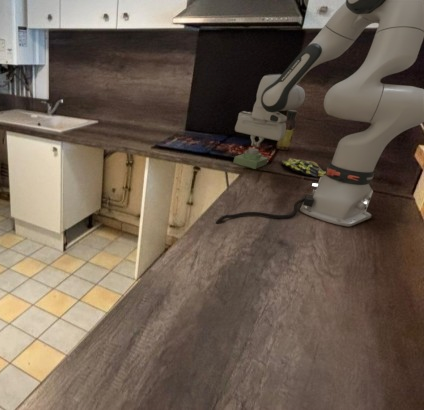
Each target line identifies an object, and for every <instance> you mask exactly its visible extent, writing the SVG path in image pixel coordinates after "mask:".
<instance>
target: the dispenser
mask: <svg viewBox="0 0 424 410" xmlns="http://www.w3.org/2000/svg"><path fill="white" fill-rule="evenodd" d="M233 158H234V159H233V161H232V162H233V164H236V165H238V166H239V165H240V166H243V167H247V168H250V169H254V170H257V169H259V168H261V167H263V166H267V165H268V162H269V157H267V156H262V153H261V152H259V151H258V154H250V153H248V150H244V151H243V153H241V154H238V155H235V156H234V157H233Z"/></svg>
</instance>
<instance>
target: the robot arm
mask: <svg viewBox="0 0 424 410" xmlns="http://www.w3.org/2000/svg"><path fill="white" fill-rule="evenodd" d="M372 24H378V25H377V28H376V31H375V34H374V37H373V40H372V43H371V45H370V48H369V50H368V53H367V55H366V57H365V60H364V61H363V63H362V64H361V65H360V67H359V68H358V69H357V70H356V71H355V72H354V73H353V74H351V75H350V76H348V77H347V78H345V79H344V80H341V81H339V82H337V83H335V84H334V85H332V86H331V87H330V88H329V89H328V91H327V92H326V93H325V95H324V99H323V110H324V111H325V113H326V114H327V115H328V116H331V117H334V118H338V119H341V120H347V121H352V122H353V121H355V122H361V123H362V122H363V123H368V124H370V126H369V127H368V128H367V129H364V130H363V131H360V132H359V131H358V132H354V133H351V134H348V135H345V136H344V137H342V138H340V139H339V141H338V143H337V146H336V148H335V151H334V154H333V157H332V160H331V162H329V164H328V166H327V167H326V170H325V171H326V173H325V174H326V175H325V176H322V177H319V180H318V183H312V185H311V186H312V187H316V188H315V189H313V190H312V191H311V194H307V193H306V194H305V195H304V197H303V198H301V199H299V200H297V201H296V202H295V203H294V205H293V211H292V212H291V213H290V214H272V213H267V212H261V211H244V212H239V213H238V212H237V213H234V214H223V215H222V216H220V217H219V218H218V219H217V221H216V222H215V224H216V225H220V224H221V222H223V220H225V219H232V218H237V217H244V216H261V217H268V218H273V219H288V218H292V217H294V216H295V215H296V214H297V212H298V207H299V205H300V204H301V203H302V204H301V206H300V208H299V211H300V212H301V213H303V214H305V215H307V216H310V217H312V218H314V219H317V220H320V221H324V222H327V223H330V224H334V225H338V226H343V227H349V228H350V227H352V226H355V225H357V224H360V223H362V222H365V221H367V220H369V219H371V218H372V214H371V212H368V210H367V209H368V207H369V204H370V202H371V198H372V196H373V194H374V190H373V188H372V187H371V185H370V184H371V183H372V180H373V178H374V176H375V168H376V166H377V164H378V162H379V160H380V157H381V156H382V154H383V151H384V150H385V148H386V147H387V145H388V144H390V143H391V141H392V140H394V139H395V138H396V137H397V136H398V135H400V134H401V133H403V132H405V131H407V130H409V129H412V128H414V127H417V126H420V125H421V124H423V123H424V88H422V87H421V88H420V87H418V86H412V85H401V84H392V83H391V84H389V83H383V82H381V80H382V79H383V78H386V77H387V76H391V75H394V74H398V73H401V72H403V71H405V70H408V69H409V68H410V67H411V66H413V65H414V63H416V60H417V59H418V55H419V52H420V49H421V47H422V44H423V42H424V0H345V2H344V3H342V5H341V6H340V7H339V8H338V9H337V10H336V11H335V12H334V13H333V14H332V15H331V17H330V18H329V19H328V21H327V22H326V23H325V25H324V26H323V27H322V28H321V30H319V32H318V34H316V36H315V37H314V38H313V39H312V40H311V42H309V44H308V45H307V46H306V47H305V48H304V49H302V51H300V53H299V54H298V55H297V56H296V57H295V58H294V59H293V61H292V62H291V63H290V64H289V65H288V67H286V69H285V70H284V71H283V72H282V73H269V74H265V75H264V76H262V77H261V80H260V82H259V84H258V88H257V92H256V100H255V102H254V104H253V108H252V111H246V110H242V111H240V112H239V113H238V116H237V121H236V122H235V123H236V124H235V126H234V131H235V132H236V133H240V134H245V135H248V136H249V135H250V141H251V144H250V146H251V147H256V148H259V147H260V146H261V143H262V142H263V141H264V140H265V139H268V140H272V141H277V142H278V141H280V140H282V139H283V138H284V136H285V132H286V123H285V122H284V121H286V119H287V115H285V114H283V113H281V112H283V111H288V110H297V109H299V108H300V107H301V106H302V105H304V103H305V100H306V95H307V94H306V90H305V88H303V87H302V86H301V85H298V83H300V81H301V80H302V79H303V78H304V77H305V76H306V75H307V73H308V72H310V71H311V70H312V69H313V68H315V67H317V66H319V65H322V64H324V63H326V62H330V61H332V60H335V59H337V58H339V57H341V55H343V54H344V53H345V52H346V51H348V49H349V48H350V47H351V46H352V45H353V44H354V43H355V42H356V40H357V39H358V38H359V36H361V34H362V33H363V31H364V30H365V29H366V28H367V27H368V26H370V25H372ZM256 137H257V138H258V141H256V139H255V138H256Z"/></svg>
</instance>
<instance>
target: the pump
mask: <svg viewBox="0 0 424 410" xmlns="http://www.w3.org/2000/svg"><path fill="white" fill-rule="evenodd" d="M247 151H248V153H250V154H258V152H259V151H260V150H259V149H258V148H254V147H249V148H248V150H247Z"/></svg>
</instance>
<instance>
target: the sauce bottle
mask: <svg viewBox="0 0 424 410" xmlns="http://www.w3.org/2000/svg"><path fill="white" fill-rule="evenodd" d="M297 114H298V111H297V110H295V109H293V110H287V115H286V117H287V119H286V121H284V122H285V123H286V132H285V136H284V138H283V139H282V140H280V141H277V142H276V149H277V150H279V151H288V150H289V149H290V147H291V144H292V140H293V137H294V133H295V130H296V116H297Z"/></svg>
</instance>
